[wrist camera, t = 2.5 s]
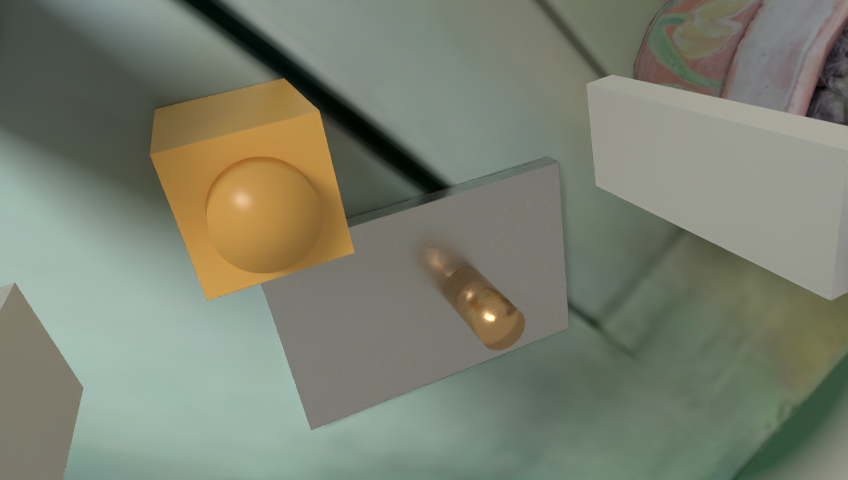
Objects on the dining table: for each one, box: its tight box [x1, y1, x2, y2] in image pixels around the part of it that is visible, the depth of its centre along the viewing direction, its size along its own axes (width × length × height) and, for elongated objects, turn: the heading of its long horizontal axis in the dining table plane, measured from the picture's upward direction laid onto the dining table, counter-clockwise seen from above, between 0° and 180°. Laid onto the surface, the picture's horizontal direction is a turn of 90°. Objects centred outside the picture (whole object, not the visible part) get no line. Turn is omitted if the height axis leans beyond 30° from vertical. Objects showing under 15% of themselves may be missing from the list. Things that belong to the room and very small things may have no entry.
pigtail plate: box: [262, 157, 569, 430], centre depth 34 cm, size 18×12×6 cm, turn 100°
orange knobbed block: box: [150, 78, 354, 300], centre depth 25 cm, size 6×6×10 cm
